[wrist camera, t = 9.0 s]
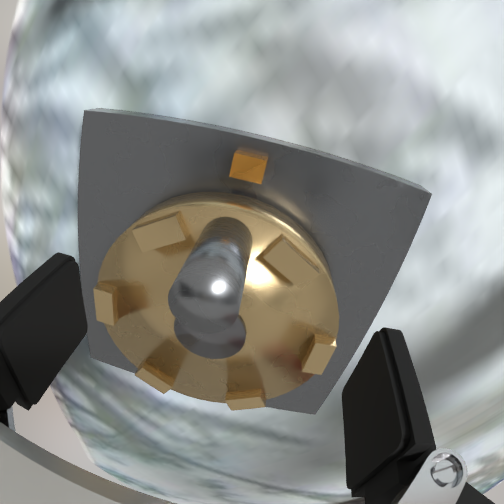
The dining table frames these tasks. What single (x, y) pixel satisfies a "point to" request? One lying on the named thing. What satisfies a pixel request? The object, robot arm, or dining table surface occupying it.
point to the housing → (257, 187)
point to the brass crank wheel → (219, 299)
